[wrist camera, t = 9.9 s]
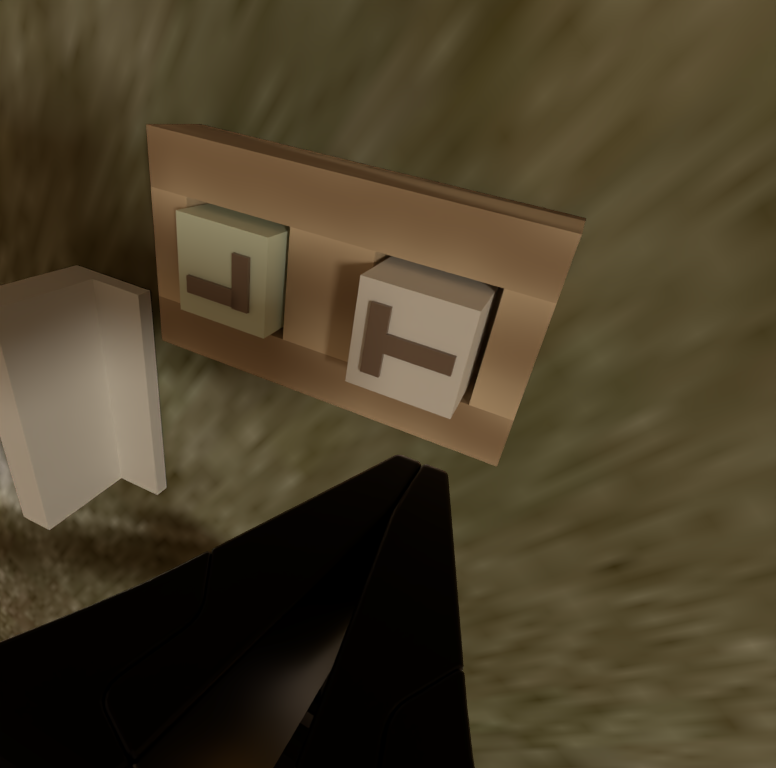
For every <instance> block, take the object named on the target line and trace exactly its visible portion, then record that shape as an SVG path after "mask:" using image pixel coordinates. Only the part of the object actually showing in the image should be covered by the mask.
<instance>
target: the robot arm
mask: <svg viewBox="0 0 776 768" xmlns="http://www.w3.org/2000/svg"><path fill="white" fill-rule="evenodd" d="M462 670H463V654H462V641H461V629H460V617H459V604H458V592H457V579H456V567H455V555H454V542H453V530H452V517H451V505H450V493H449V480H448V474H447V473H446V472H445V471H443V470H440V469H438V468H435V467H432V466H430V465H423V466H421V464H420V462H418V461H416V460H413V459H411V458H408V457H405V456H402V455H395V456H393V457H391V458H389V459H387V460H385V461H383V462H381V463H379V464H377V465H375V466H373V467H371V468H369V469H367V470H366V471H364V472H362V473H360V474H358V475H356V476H354V477H352V478H350V479H348V480H346V481H344V482H342V483H340V484H338V485H336V486H334V487H332V488H330V489H328V490H326V491H324V492H322V493H321V494H319V495H317V496H315V497H313V498H311V499H309V500H307V501H305V502H303V503H301V504H299V505H297V506H295V507H293V508H291V509H289V510H287V511H285V512H283V513H281V514H279V515H278V516H276V517H274V518H272V519H270V520H268V521H266V522H264V523H262V524H260V525H258V526H256V527H254V528H252V529H250V530H248V531H246V532H244V533H242V534H240V535H238V536H236V537H234V538H233V539H231V540H229V541H227V542H225V543H223V544H221V545H219V546H217V547H215V548H213V549H212V553H210V552H208V551H207V552H205V553H203V554H201V555H199V556H197V557H195V558H193V559H191V560H189V561H187V562H185V563H183V564H181V565H179V566H177V567H175V568H173V569H171V570H169V571H167V572H165V573H162V574H160V575H158V576H156V577H154V578H152V579H150V580H148V581H146V582H144V583H142V584H140V585H137V586H135V587H133V588H130V589H128V590H126V591H123V592H121V593H119V594H116V595H114V596H112V597H109V598H107V599H105V600H102V601H100V602H98V603H95V604H93V605H91V606H88V607H86V608H83V609H81V610H78V611H76V612H73V613H71V614H69V615H66V616H64V617H61V618H59V619H56V620H54V621H51V622H49V623H46V624H44V625H41V626H39V627H37V628H34V629H32V630H29V631H27V632H24V633H22V634H19V635H17V636H14V637H12V638H9V639H7V640H4V641H2V642H0V768H475V767H474V761H473V753H472V745H471V736H470V727H469V718H468V709H467V699H466V687H465V675H464V672H463V671H462Z"/></svg>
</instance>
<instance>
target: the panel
mask: <svg viewBox="0 0 776 768" xmlns="http://www.w3.org/2000/svg"><path fill="white" fill-rule="evenodd" d="M146 128H147V142H148V155H149V169H150V182H151V195H152V209H153V222H154V236H155V249H156V263H157V276H158V290H159V303H160V316H161V330H162V340H163V341H166V342H168V343H171V344H174V345H176V346H179V347H182V348H184V349H187V350H190V351H192V352H195V353H198V354H200V355H203V356H206V357H208V358H211V359H213V360H216V361H219V362H221V363H224V364H227V365H229V366H232V367H235V368H237V369H240V370H243V371H245V372H248V373H251V374H253V375H256V376H258V377H261V378H264V379H266V380H269V381H272V382H274V383H277V384H280V385H282V386H285V387H288V388H290V389H293V390H296V391H298V392H301V393H303V394H306V395H309V396H311V397H314V398H317V399H319V400H322V401H325V402H327V403H330V404H333V405H335V406H338V407H341V408H343V409H346V410H348V411H351V412H354V413H356V414H359V415H362V416H364V417H367V418H370V419H372V420H375V421H378V422H380V423H383V424H386V425H388V426H391V427H393V428H396V429H399V430H401V431H404V432H407V433H409V434H412V435H415V436H417V437H420V438H423V439H425V440H428V441H431V442H433V443H436V444H438V445H441V446H444V447H446V448H449V449H452V450H454V451H457V452H460V453H462V454H465V455H468V456H470V457H473V458H476V459H478V460H481V461H483V462H486V463H489V464H491V465H494V466H497V465H498V462H499V459H500V456H501V454H502V451H503V448H504V446H505V443H506V440H507V437H508V435H509V432H510V429H511V426H512V424H513V421H514V418H515V415H516V413H517V410H518V407H519V405H520V402H521V399H522V396H523V394H524V391H525V388H526V385H527V383H528V380H529V377H530V375H531V372H532V369H533V366H534V364H535V361H536V358H537V355H538V353H539V350H540V347H541V344H542V342H543V339H544V336H545V334H546V331H547V328H548V325H549V323H550V320H551V317H552V314H553V312H554V309H555V306H556V303H557V301H558V298H559V295H560V293H561V290H562V287H563V284H564V282H565V279H566V276H567V273H568V271H569V268H570V265H571V263H572V260H573V257H574V254H575V252H576V249H577V246H578V243H579V241H580V238H581V235H582V232H583V228H584V224H585V221H586V218H583V217H579V216H575V215H571V214H566V213H562V212H558V211H554V210H550V209H546V208H542V207H538V206H534V205H530V204H526V203H521V202H517V201H513V200H509V199H505V198H501V197H497V196H493V195H489V194H485V193H481V192H476V191H472V190H468V189H464V188H460V187H456V186H452V185H448V184H444V183H440V182H435V181H431V180H427V179H423V178H419V177H415V176H411V175H407V174H403V173H399V172H395V171H390V170H386V169H382V168H378V167H374V166H370V165H366V164H362V163H358V162H354V161H350V160H345V159H341V158H337V157H333V156H329V155H325V154H321V153H317V152H313V151H309V150H305V149H300V148H296V147H292V146H288V145H284V144H280V143H276V142H272V141H268V140H264V139H260V138H255V137H251V136H247V135H243V134H239V133H235V132H231V131H227V130H223V129H219V128H214V127H210V126H206V125H202V124H146ZM209 203H210V204H213V205H217V206H220V207H223V208H227V209H230V210H234V211H237V212H241V213H244V214H248V215H251V216H255V217H258V218H262V219H265V220H269V221H272V222H275V223H279V224H282V225H286V226H289V227H290V236H289V252H288V267H287V283H286V298H285V313H284V327H282V328H280V329H279V330H277V331H275V332H274V333H272V334H271V335H269V336H267V337H266V338H264V339H263V338H260V337H257V336H255V335H252V334H249V333H246V332H243V331H241V330H238V329H235V328H232V327H229V326H227V325H224V324H221V323H218V322H215V321H212V320H210V319H207V318H204V317H201V316H198V315H196V314H193V313H190V312H187V311H184V310H182V309H181V305H180V286H179V266H178V247H177V227H176V210H179V209H184V208H189V207H194V206H199V205H204V204H209ZM391 256H393V257H397V258H400V259H404V260H407V261H410V262H414V263H417V264H421V265H424V266H428V267H431V268H435V269H438V270H442V271H445V272H449V273H452V274H455V275H459V276H462V277H466V278H469V279H473V280H476V281H480V282H483V283H487V284H490V285H494V286H497V287H499V288H498V292H497V295H496V299H495V302H494V305H493V309H492V312H491V315H490V319H489V322H488V326H487V329H486V332H485V336H484V339H483V342H482V346H481V349H480V352H479V356H478V359H477V363H476V366H475V369H474V373H473V376H472V379H471V382H470V384H469V386H468V388H467V390H466V391H465V393H464V395H463V397H462V399H461V401H460V403H459V404H458V406H457V408H456V410H455V412H454V414H453V415H452V417H451V419H448V418H445V417H442V416H440V415H437V414H434V413H431V412H429V411H426V410H423V409H420V408H418V407H415V406H412V405H409V404H407V403H404V402H401V401H398V400H396V399H393V398H390V397H387V396H385V395H382V394H379V393H376V392H374V391H371V390H368V389H365V388H363V387H360V386H357V385H354V384H351V383H349V382H346V381H345V379H346V372H347V365H348V358H349V351H350V344H351V337H352V330H353V323H354V316H355V310H356V303H357V296H358V289H359V282H360V275H361V274H363V273H365V272H366V271H368V270H370V269H371V268H373V267H375V266H376V265H378V264H380V263H381V262H383V261H384V260H386V259H388V258H389V257H391Z"/></svg>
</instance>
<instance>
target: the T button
mask: <svg viewBox="0 0 776 768" xmlns="http://www.w3.org/2000/svg"><path fill="white" fill-rule="evenodd" d="M498 288H499V287H497V286H494V285H490V284H487V283H483V282H480V281H476V280H473V279H469V278H466V277H462V276H459V275H455V274H452V273H449V272H445V271H442V270H438V269H435V268H431V267H428V266H424V265H421V264H417V263H414V262H410V261H407V260H404V259H400V258H397V257H393V256H391V257H389V258H388V259H386V260H384V261H383V262H381V263H380V264H378V265H376V266H375V267H373V268H371V269H370V270H368V271H366V272H365V273H363V274H361V275H360V282H359V289H358V296H357V303H356V310H355V316H354V323H353V330H352V337H351V344H350V351H349V358H348V365H347V372H346V379H345V381H346V382H349V383H351V384H354V385H357V386H360V387H363V388H365V389H368V390H371V391H374V392H376V393H379V394H382V395H385V396H387V397H390V398H393V399H396V400H398V401H401V402H404V403H407V404H409V405H412V406H415V407H418V408H420V409H423V410H426V411H429V412H431V413H434V414H437V415H440V416H442V417H445V418H448V419H451V417H452V415H453V414H454V412H455V410H456V408H457V406H458V404H459V403H460V401H461V399H462V397H463V395H464V393H465V391H466V390H467V388H468V386H469V384H470V382H471V379H472V376H473V373H474V369H475V366H476V363H477V359H478V356H479V352H480V349H481V346H482V342H483V339H484V336H485V332H486V329H487V326H488V322H489V319H490V315H491V312H492V309H493V305H494V302H495V299H496V295H497V292H498Z"/></svg>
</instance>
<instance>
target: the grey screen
mask: <svg viewBox="0 0 776 768" xmlns="http://www.w3.org/2000/svg"><path fill="white" fill-rule="evenodd" d="M0 437H1V441H2V444H3V447H4V451H5V454H6V458H7V461H8V464H9V468H10V471H11V475H12V478H13V481H14V485H15V488H16V492H17V495H18V498H19V502H20V505H21V508H22V512H23V515H24V517H25V518H27V519H29V520H31V521H33V522H35V523H37V524H39V525H41V526H42V527H44V528H46V529H48V530H50V529H52V528H53V527H54V526H56V525H57V524H59V523H60V522H61V521H63V520H64V519H65V518H67V517H68V516H70V515H71V514H72V513H74V512H75V511H76V510H78V509H79V508H81V507H82V506H83V505H85V504H86V503H88V502H89V501H90V500H92V499H93V498H94V497H96V496H97V495H99V494H100V493H101V492H103V491H104V490H105V489H107V488H108V487H110V486H111V485H112V484H114V483H115V482H117V481H118V480H119V479H121V478H123V479H125V480H127V481H129V482H131V483H133V484H135V485H138V486H140V487H142V488H144V489H146V490H148V491H150V492H152V493H155V494H157V495H158V494H159V493H161V492H162V491H163V490H164V489H165V488H167V487H166V475H165V463H164V451H163V439H162V427H161V415H160V403H159V391H158V379H157V367H156V355H155V343H154V331H153V320H152V308H151V296H150V291H149V290H146V289H144V288H141V287H138V286H135V285H132V284H129V283H127V282H124V281H121V280H118V279H115V278H112V277H109V276H107V275H104V274H101V273H98V272H95V271H92V270H90V269H87V268H84V267H81V266H78V265H75V266H72V267H68V268H64V269H60V270H56V271H53V272H49V273H45V274H41V275H38V276H34V277H30V278H26V279H23V280H19V281H15V282H11V283H8V284H4V285H0Z"/></svg>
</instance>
